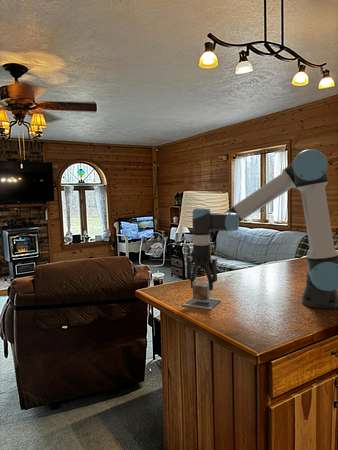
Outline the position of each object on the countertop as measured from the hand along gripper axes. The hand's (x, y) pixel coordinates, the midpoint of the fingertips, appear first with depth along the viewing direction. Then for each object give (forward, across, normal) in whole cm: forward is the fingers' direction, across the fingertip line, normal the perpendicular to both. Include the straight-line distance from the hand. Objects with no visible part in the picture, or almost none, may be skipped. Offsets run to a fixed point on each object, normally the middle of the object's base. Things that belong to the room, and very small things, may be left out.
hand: (201, 296), depth 147 cm
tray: (+4, 0, 0) cm, 4 cm away
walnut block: (+1, 0, 0) cm, 1 cm away
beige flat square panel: (+4, -10, 0) cm, 11 cm away
